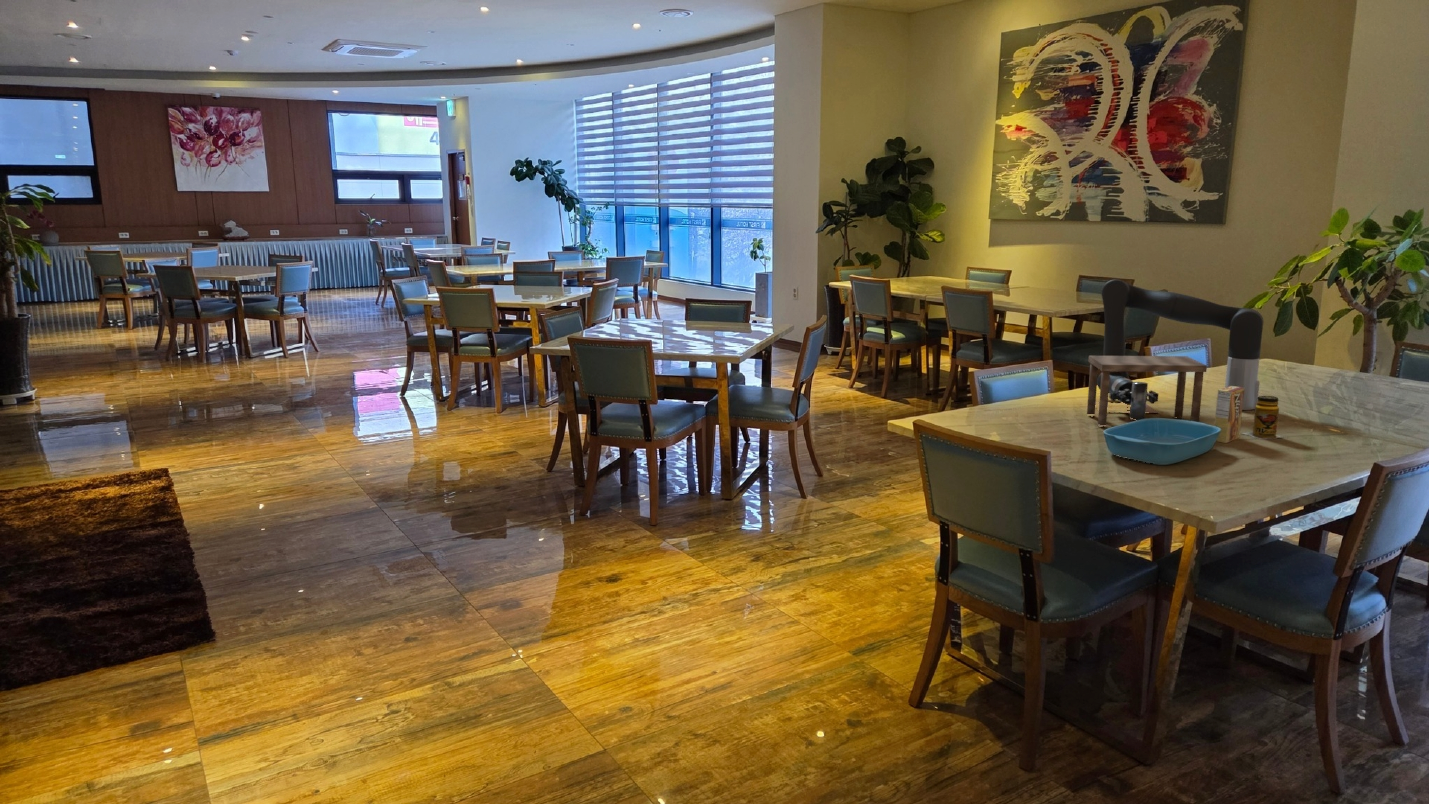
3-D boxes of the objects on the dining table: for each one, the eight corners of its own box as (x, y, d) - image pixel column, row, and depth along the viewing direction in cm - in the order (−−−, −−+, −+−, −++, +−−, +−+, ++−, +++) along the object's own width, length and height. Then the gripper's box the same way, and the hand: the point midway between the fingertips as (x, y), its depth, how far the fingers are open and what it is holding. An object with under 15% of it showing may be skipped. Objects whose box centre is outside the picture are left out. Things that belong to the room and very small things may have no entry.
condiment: (1264, 440, 268) (1268, 400, 266) (1240, 433, 276) (1244, 394, 274) (1283, 437, 270) (1288, 398, 268) (1259, 431, 278) (1263, 392, 276)
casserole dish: (1153, 435, 276) (1155, 412, 275) (1231, 449, 259) (1233, 425, 258) (1087, 457, 254) (1089, 432, 253) (1167, 474, 237) (1170, 447, 236)
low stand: (1181, 416, 299) (1186, 356, 295) (1200, 429, 281) (1206, 365, 277) (1084, 415, 304) (1088, 355, 299) (1098, 427, 286) (1102, 364, 282)
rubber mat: (1144, 403, 319) (1144, 402, 319) (1158, 413, 304) (1158, 412, 303) (1089, 403, 322) (1090, 401, 322) (1101, 412, 306) (1101, 411, 306)
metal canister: (1142, 418, 298) (1145, 381, 296) (1146, 421, 294) (1149, 384, 291) (1127, 417, 299) (1130, 381, 296) (1131, 420, 295) (1134, 384, 292)
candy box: (1224, 435, 274) (1229, 385, 270) (1240, 438, 270) (1245, 387, 267) (1212, 440, 268) (1216, 389, 265) (1227, 443, 265) (1232, 391, 262)
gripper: (1104, 379, 310) (1116, 388, 295) (1149, 379, 308) (1164, 389, 292) (1102, 401, 312) (1115, 411, 296) (1147, 401, 309) (1162, 412, 294)
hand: (1139, 400), depth 294 cm, fingers open, 8 cm apart
